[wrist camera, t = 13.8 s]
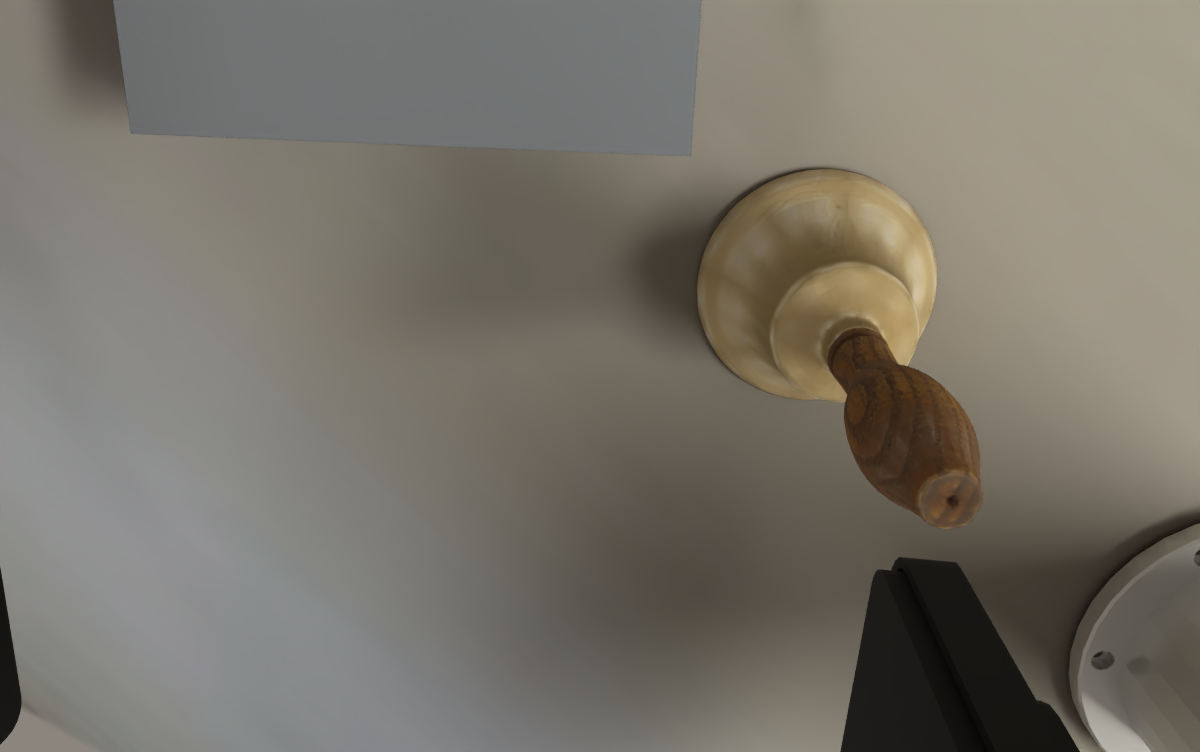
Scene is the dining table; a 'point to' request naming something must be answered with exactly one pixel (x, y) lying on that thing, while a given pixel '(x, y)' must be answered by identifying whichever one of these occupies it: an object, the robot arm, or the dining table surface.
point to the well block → (416, 72)
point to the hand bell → (843, 328)
